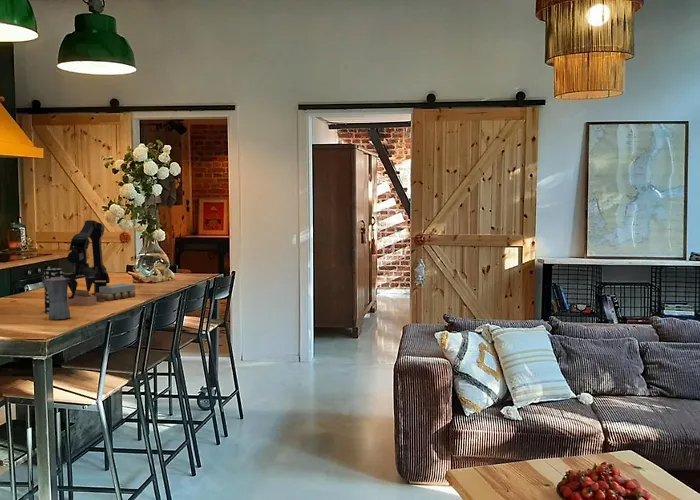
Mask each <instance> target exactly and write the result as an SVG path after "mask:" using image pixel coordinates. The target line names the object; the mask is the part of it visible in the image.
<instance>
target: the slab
mask: <svg viewBox="0 0 700 500" xmlns="http://www.w3.org/2000/svg"><path fill="white" fill-rule="evenodd" d="M127 291H136V285H135V284H132V283H131V284H130V283H116V284H111V285H108V284H107V286H101V287H99V293H108V294H114V293H121V292H127Z"/></svg>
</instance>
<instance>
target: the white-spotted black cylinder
mask: <svg viewBox="0 0 700 500" xmlns="http://www.w3.org/2000/svg"><path fill="white" fill-rule="evenodd" d="M55 273H58V277H62V278H64V274H65V269H64V268H60V267H59V268H58V267H54V268H51V267H50V268H44V270H43V277H44V278H43V280H45V279H50V278H54V277H55ZM43 287H44V291H43V292H44V313H45V314H48V315H49V305H50V301H49V296H48V291H47V288H46V287H45V285H44V284H43Z"/></svg>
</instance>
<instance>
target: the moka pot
mask: <svg viewBox="0 0 700 500" xmlns="http://www.w3.org/2000/svg"><path fill="white" fill-rule="evenodd" d="M41 282H42V283H43V286H44V285H45V287H46V288H47V291H48V296H49V301H50V305H49V314H48V320H50V321H51V320H53V321H54V320H55V321H56V320H64V319H69V318H71V312H70V308H69V303H67V295H68V288H69V286H68V282H74V283H75V285H74V288H73V294H72V293H71V294H72V296H71V297H68V299H73V298H74V295H75V292H76V289H77V288H78V284H79V283H78V281H77V279H74V278H62V277H58V273H55V277H54V278H50V279H45V280H44V279H42V281H41Z"/></svg>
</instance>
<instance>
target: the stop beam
mask: <svg viewBox="0 0 700 500" xmlns="http://www.w3.org/2000/svg"><path fill="white" fill-rule="evenodd" d="M71 296H72V293H71V294H67V303H68V305H69V304H71V305H78V306H83V307H84V306H86V307H90V306H96V305H97V304H98V303H97V301H96V297H95V295H94V296H93V295H91V294H89V295H88V296H87V297H85V296H79V295H74V298H73V299H68V297H71Z"/></svg>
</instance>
